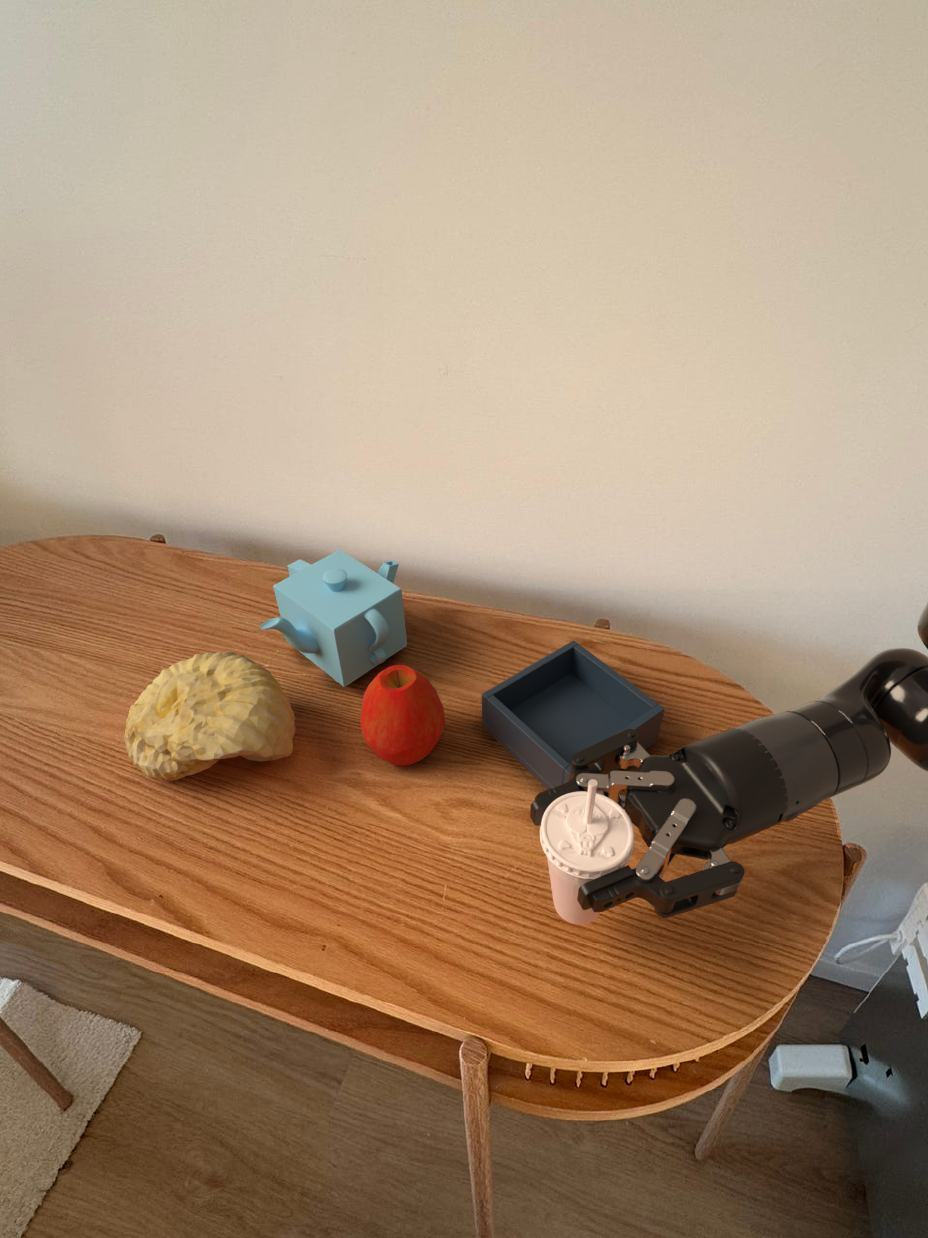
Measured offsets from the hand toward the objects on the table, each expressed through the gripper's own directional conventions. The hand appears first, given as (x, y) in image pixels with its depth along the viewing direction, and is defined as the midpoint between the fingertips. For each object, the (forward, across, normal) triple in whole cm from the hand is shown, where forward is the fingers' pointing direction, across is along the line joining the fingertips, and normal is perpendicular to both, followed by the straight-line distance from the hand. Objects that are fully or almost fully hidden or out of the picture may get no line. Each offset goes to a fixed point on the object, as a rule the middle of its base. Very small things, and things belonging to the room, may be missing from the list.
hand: (556, 854), depth 50 cm
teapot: (+6, -39, +13) cm, 42 cm away
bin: (-12, -18, +13) cm, 25 cm away
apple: (+4, -23, +13) cm, 27 cm away
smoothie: (-2, 0, +8) cm, 9 cm away
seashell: (+21, -30, +13) cm, 39 cm away
